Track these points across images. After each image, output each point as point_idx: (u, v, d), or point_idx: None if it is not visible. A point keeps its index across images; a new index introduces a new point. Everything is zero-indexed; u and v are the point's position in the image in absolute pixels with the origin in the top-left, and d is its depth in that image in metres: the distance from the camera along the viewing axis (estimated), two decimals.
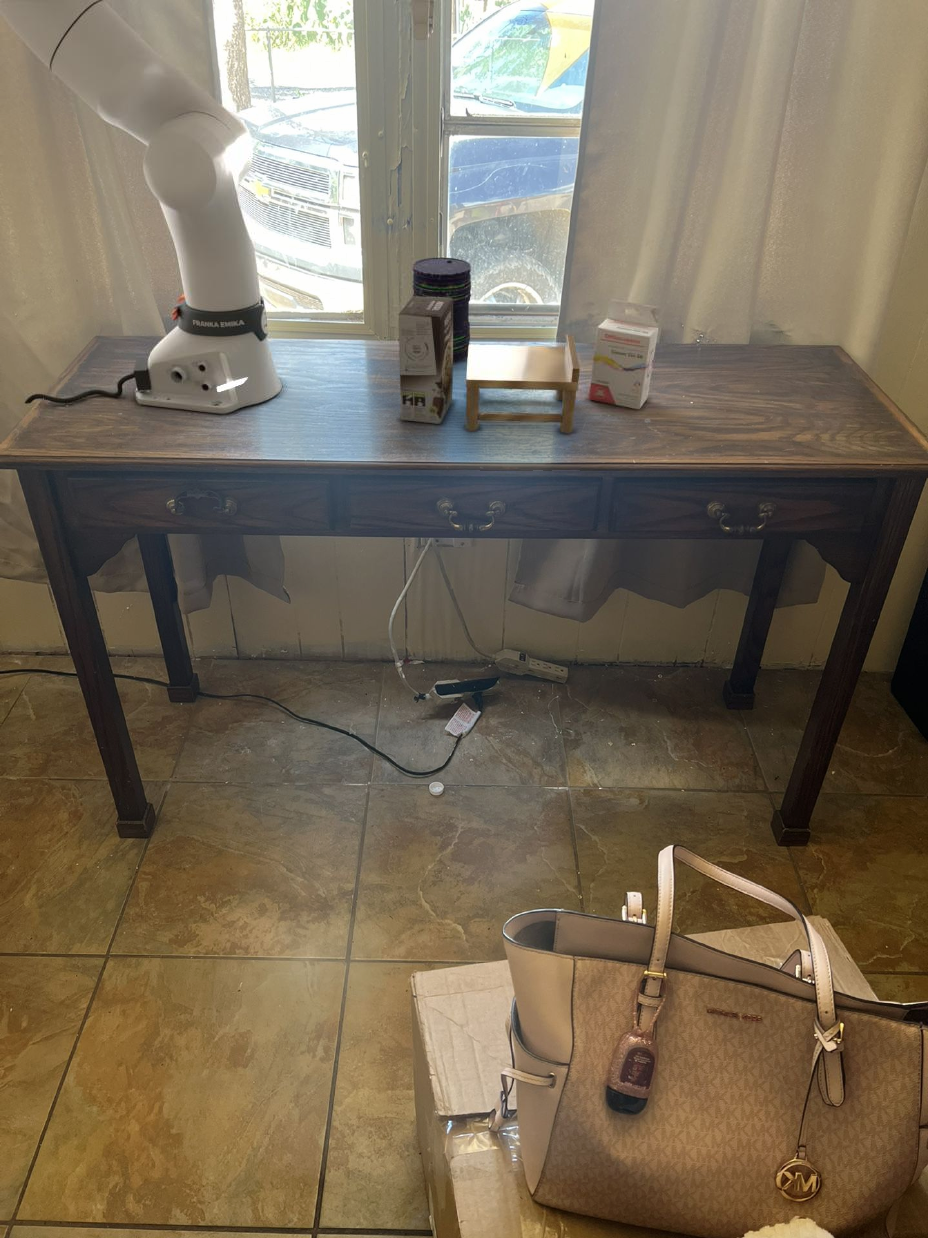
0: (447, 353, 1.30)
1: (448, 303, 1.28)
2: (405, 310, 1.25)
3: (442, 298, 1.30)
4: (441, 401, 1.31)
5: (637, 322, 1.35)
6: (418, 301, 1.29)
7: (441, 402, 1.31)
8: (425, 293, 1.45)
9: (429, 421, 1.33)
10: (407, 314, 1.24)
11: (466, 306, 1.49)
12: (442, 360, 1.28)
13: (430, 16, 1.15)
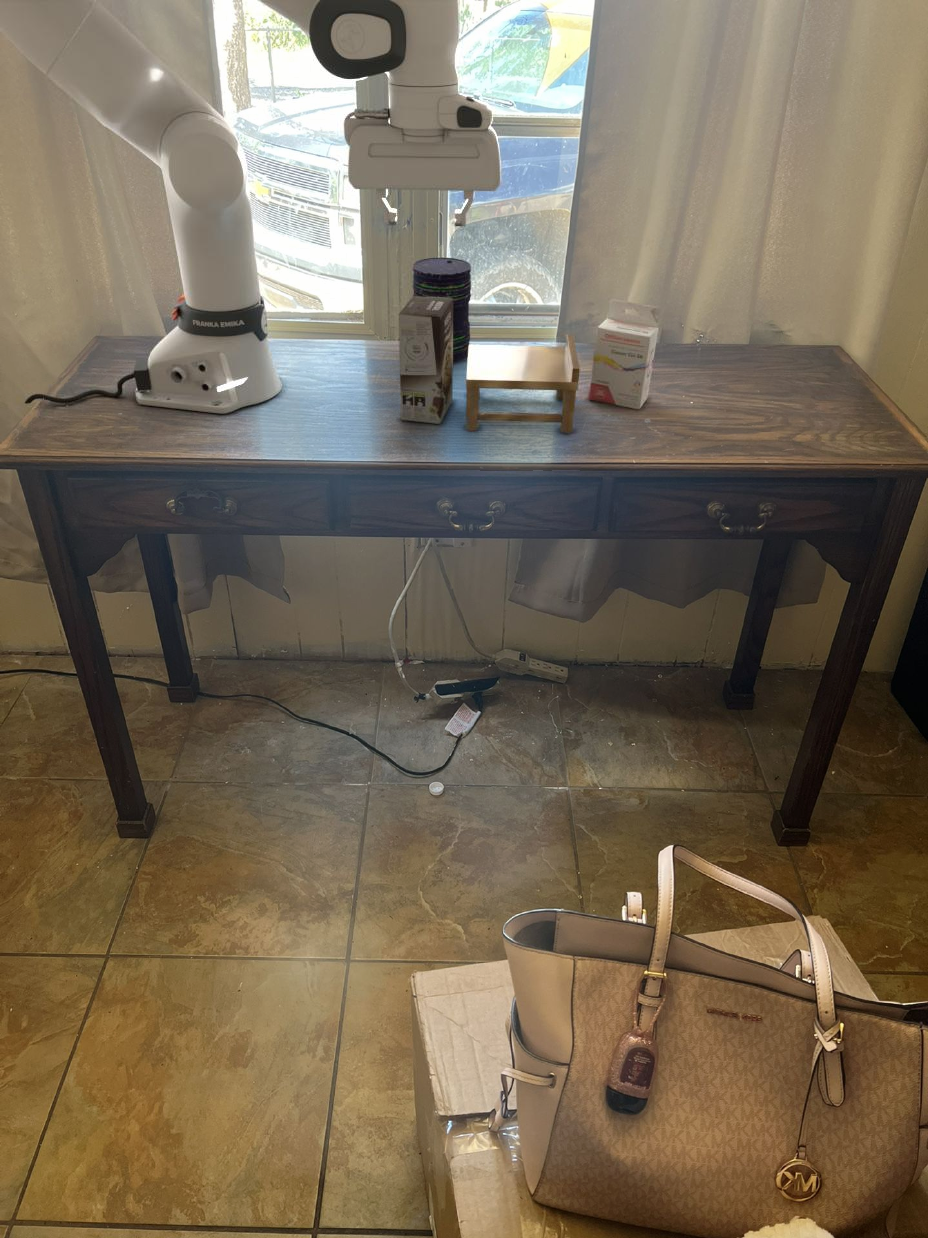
0: (447, 353, 1.30)
1: (448, 303, 1.28)
2: (405, 310, 1.25)
3: (442, 298, 1.30)
4: (441, 401, 1.31)
5: (637, 322, 1.35)
6: (418, 301, 1.29)
7: (441, 402, 1.31)
8: (425, 293, 1.45)
9: (429, 421, 1.33)
10: (408, 314, 1.24)
11: (466, 306, 1.49)
12: (442, 360, 1.28)
13: None
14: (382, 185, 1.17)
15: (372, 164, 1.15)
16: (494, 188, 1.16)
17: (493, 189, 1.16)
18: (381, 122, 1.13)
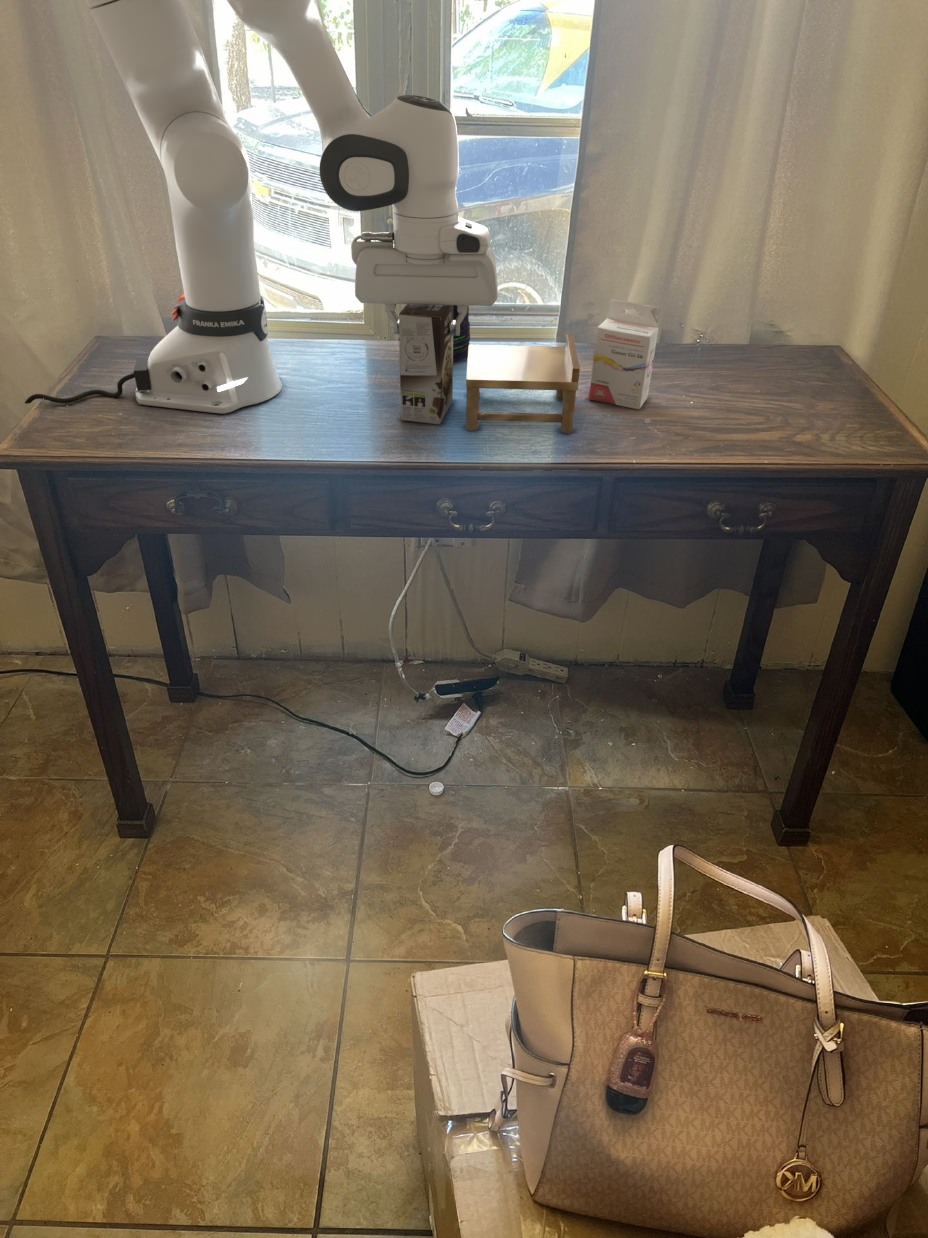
0: (447, 353, 1.30)
1: None
2: (405, 311, 1.25)
3: None
4: (441, 401, 1.31)
5: (637, 322, 1.35)
6: None
7: (441, 402, 1.31)
8: None
9: (429, 421, 1.33)
10: (408, 314, 1.24)
11: None
12: (442, 360, 1.28)
13: None
14: (386, 300, 1.25)
15: (377, 282, 1.23)
16: (491, 303, 1.25)
17: (490, 304, 1.25)
18: (386, 244, 1.22)
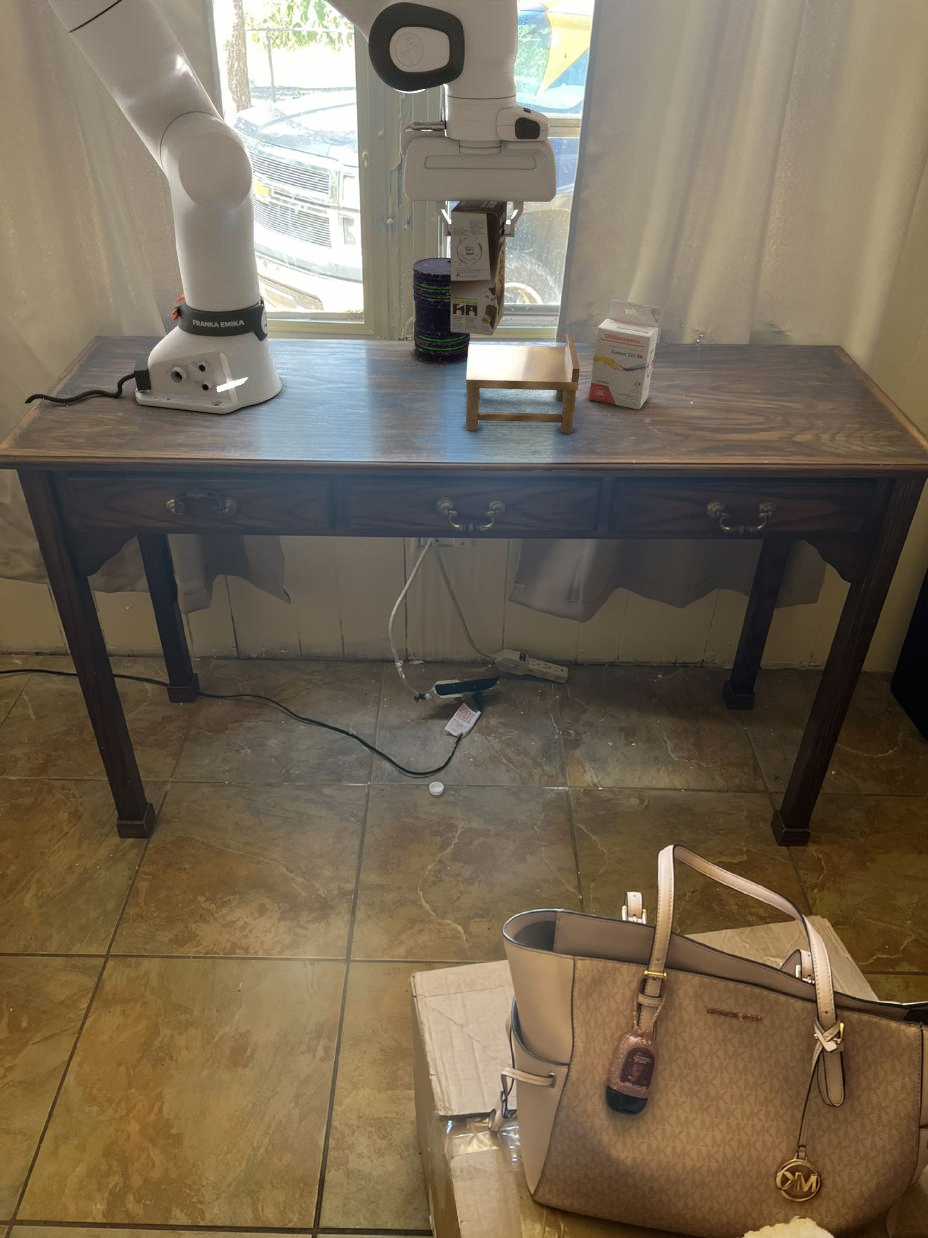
0: (501, 257, 1.21)
1: (502, 202, 1.19)
2: (457, 208, 1.17)
3: None
4: (494, 310, 1.23)
5: (637, 322, 1.35)
6: (470, 201, 1.20)
7: (494, 311, 1.23)
8: (425, 293, 1.45)
9: (481, 332, 1.24)
10: (461, 211, 1.15)
11: None
12: (496, 263, 1.19)
13: None
14: (437, 197, 1.16)
15: (428, 176, 1.15)
16: (550, 199, 1.16)
17: (549, 200, 1.16)
18: (437, 134, 1.13)
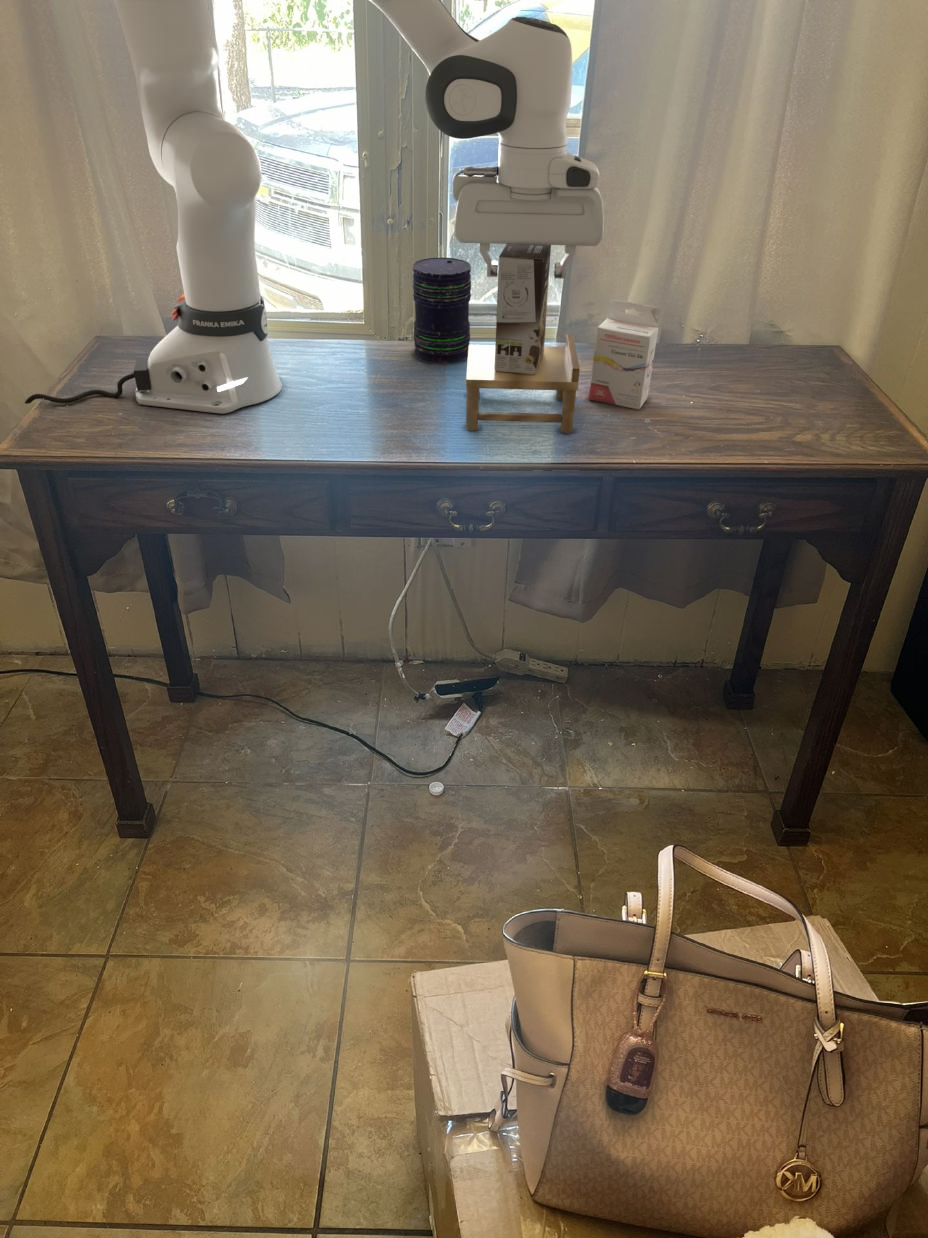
0: (545, 300, 1.25)
1: (547, 247, 1.23)
2: (505, 253, 1.20)
3: None
4: (538, 350, 1.26)
5: (637, 322, 1.35)
6: (516, 245, 1.24)
7: (538, 351, 1.26)
8: (425, 293, 1.45)
9: (524, 372, 1.28)
10: (509, 256, 1.19)
11: (466, 306, 1.49)
12: (541, 306, 1.23)
13: None
14: (487, 239, 1.20)
15: (479, 219, 1.18)
16: (596, 243, 1.20)
17: (595, 244, 1.20)
18: (489, 180, 1.16)
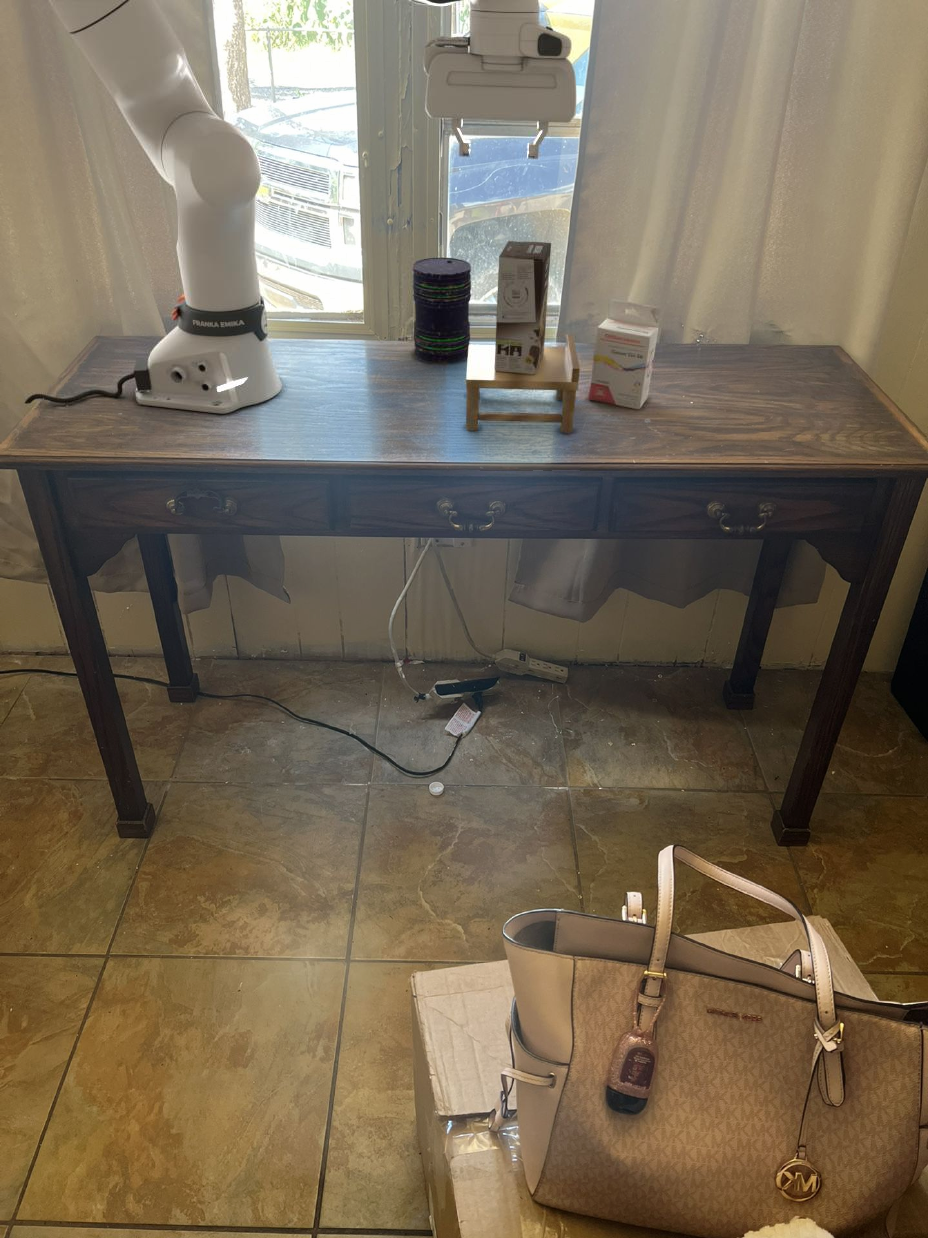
0: (545, 300, 1.25)
1: (547, 247, 1.23)
2: (505, 253, 1.20)
3: (540, 243, 1.25)
4: (538, 350, 1.26)
5: (637, 322, 1.35)
6: (516, 245, 1.24)
7: (538, 351, 1.26)
8: (425, 293, 1.45)
9: (524, 372, 1.28)
10: (509, 256, 1.19)
11: (466, 306, 1.49)
12: (541, 306, 1.23)
13: (464, 140, 1.22)
14: (458, 114, 1.18)
15: (450, 92, 1.17)
16: (569, 119, 1.18)
17: (568, 120, 1.18)
18: (461, 50, 1.15)
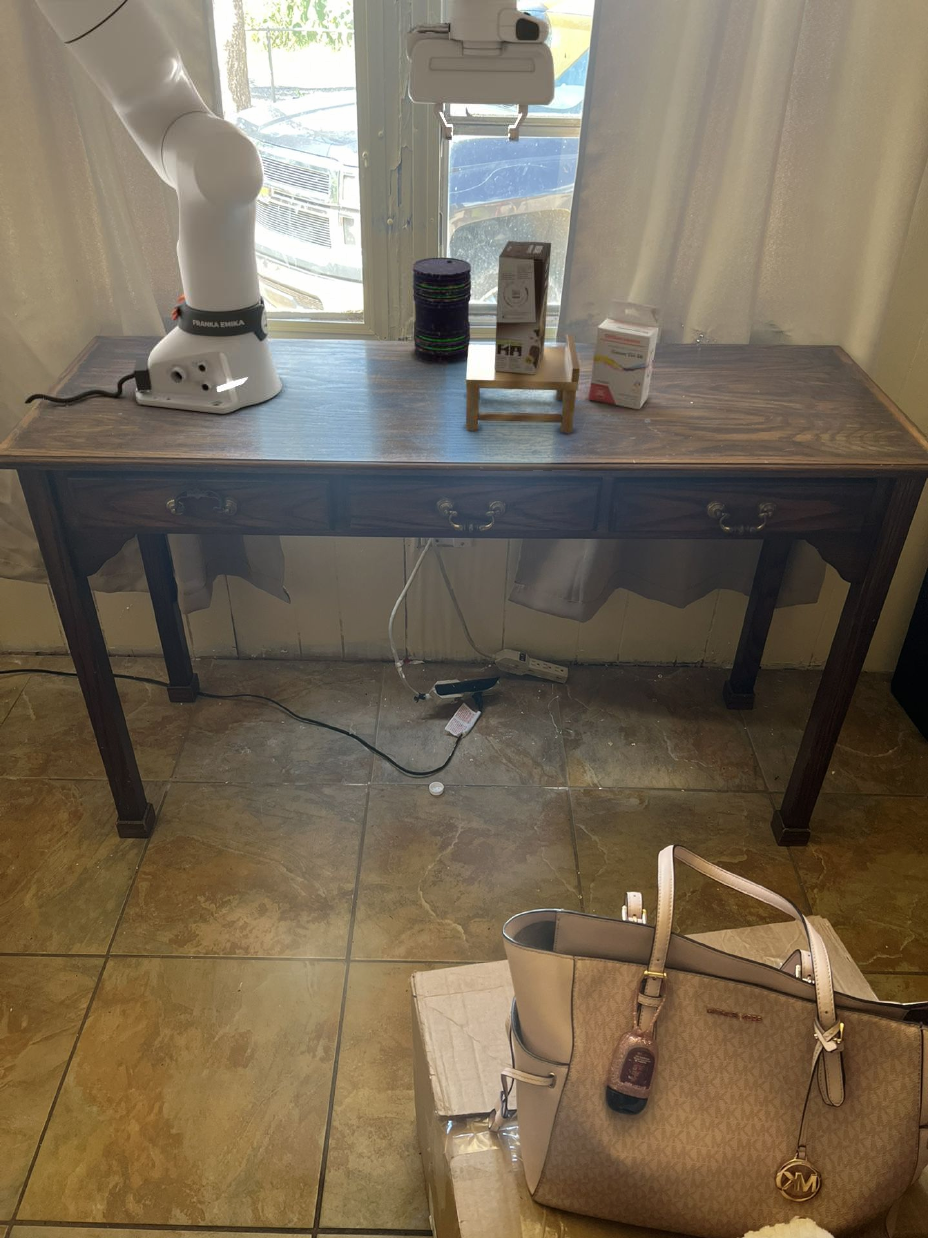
0: (545, 300, 1.25)
1: (547, 247, 1.23)
2: (505, 253, 1.20)
3: (540, 243, 1.25)
4: (538, 350, 1.26)
5: (637, 322, 1.35)
6: (516, 245, 1.24)
7: (538, 351, 1.26)
8: (425, 293, 1.45)
9: (524, 372, 1.28)
10: (509, 256, 1.19)
11: (466, 306, 1.49)
12: (541, 306, 1.23)
13: None
14: (441, 99, 1.22)
15: (432, 77, 1.20)
16: (548, 102, 1.22)
17: (547, 103, 1.22)
18: (441, 36, 1.19)
